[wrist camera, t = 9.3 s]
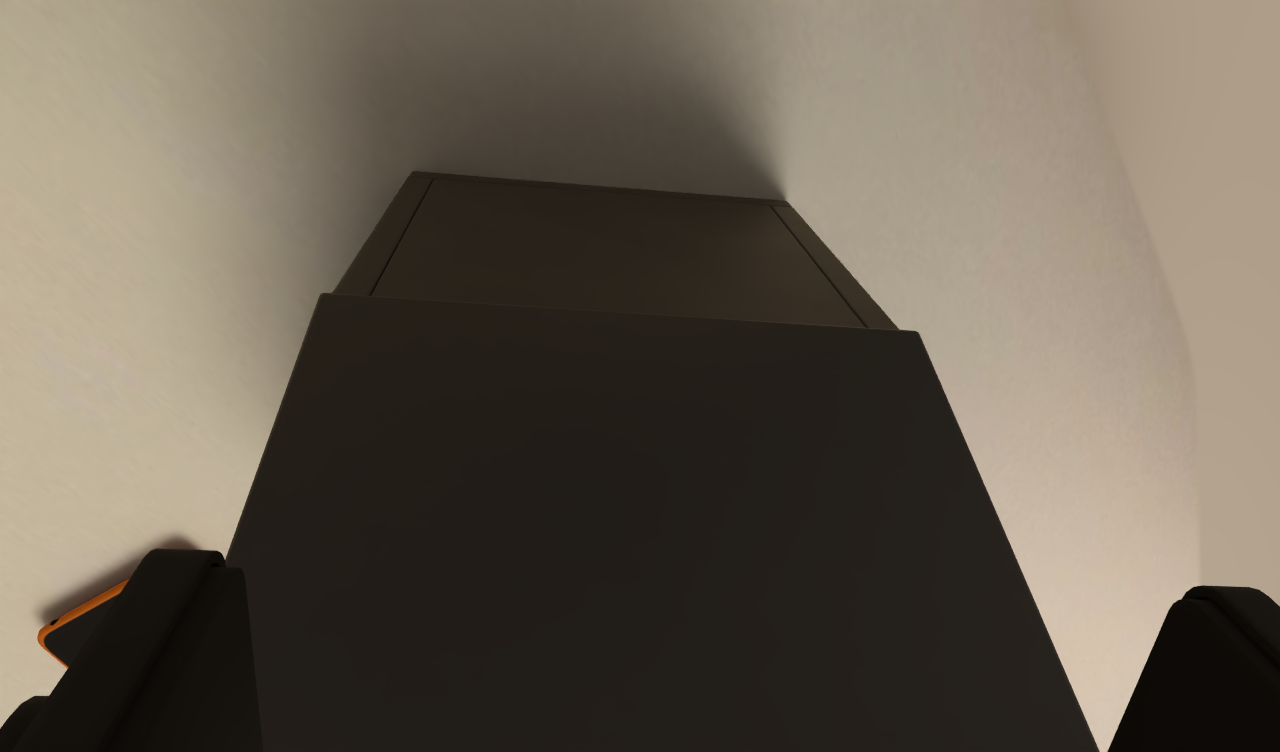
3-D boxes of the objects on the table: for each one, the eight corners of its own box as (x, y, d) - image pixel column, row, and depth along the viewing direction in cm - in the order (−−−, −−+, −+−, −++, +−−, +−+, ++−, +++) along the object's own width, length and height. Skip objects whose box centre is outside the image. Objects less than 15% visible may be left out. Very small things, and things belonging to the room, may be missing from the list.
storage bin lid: (1272, 1255, 10) (1694, 1184, 6) (-18, 1331, 8) (-364, 1292, 5) (907, 357, 20) (992, 154, 17) (323, 321, 19) (290, 93, 15)
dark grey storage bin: (731, 531, 37) (801, 770, 26) (413, 519, 35) (350, 768, 25) (788, 200, 31) (906, 335, 20) (411, 170, 30) (326, 298, 19)
